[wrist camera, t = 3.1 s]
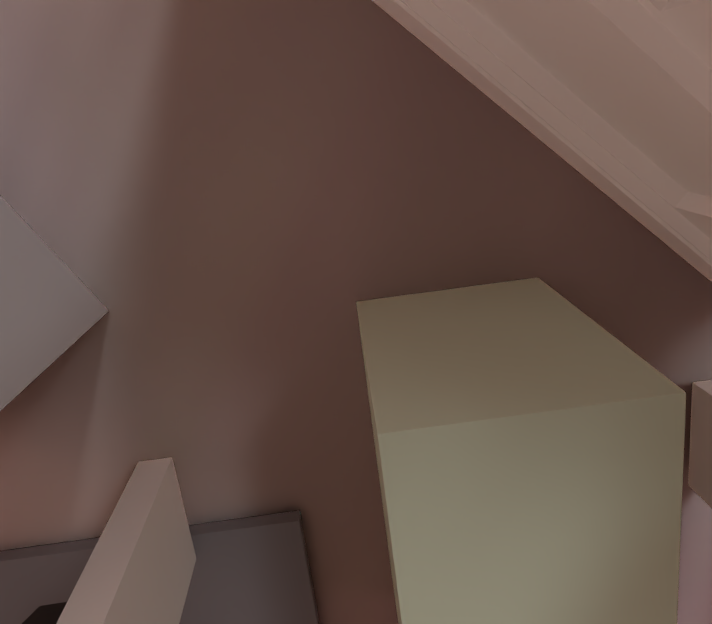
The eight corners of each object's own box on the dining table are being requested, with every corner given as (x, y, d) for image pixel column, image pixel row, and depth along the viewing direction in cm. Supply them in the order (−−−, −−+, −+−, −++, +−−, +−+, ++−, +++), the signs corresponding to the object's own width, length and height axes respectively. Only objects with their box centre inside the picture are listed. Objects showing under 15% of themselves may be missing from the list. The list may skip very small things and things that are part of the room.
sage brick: (356, 300, 14) (377, 434, 8) (536, 276, 14) (685, 392, 8) (394, 595, 16) (432, 857, 11) (547, 574, 16) (668, 824, 11)
